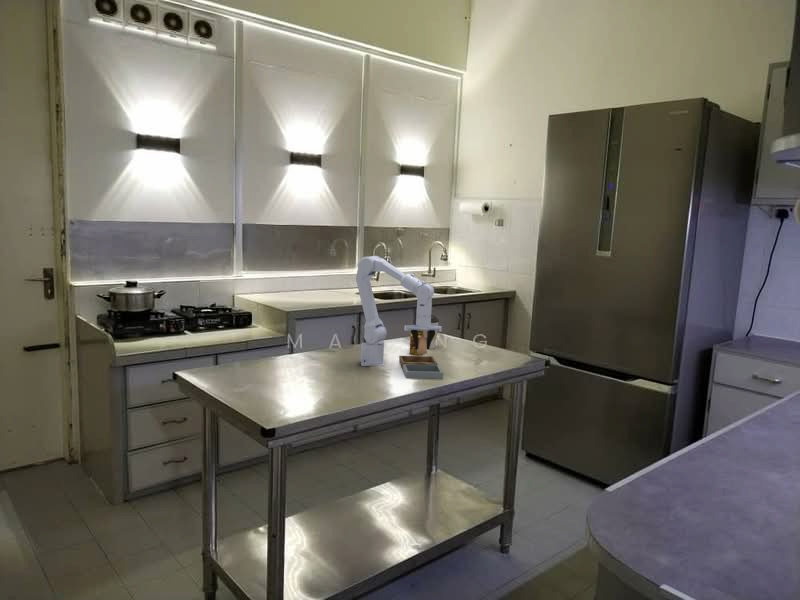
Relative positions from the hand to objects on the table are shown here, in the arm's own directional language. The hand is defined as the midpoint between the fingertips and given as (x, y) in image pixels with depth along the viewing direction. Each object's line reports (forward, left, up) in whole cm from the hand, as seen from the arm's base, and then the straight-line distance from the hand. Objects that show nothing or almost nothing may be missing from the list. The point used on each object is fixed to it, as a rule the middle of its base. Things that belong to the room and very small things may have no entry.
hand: (421, 348), depth 227 cm
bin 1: (0, +7, -9) cm, 11 cm away
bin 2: (0, -6, -9) cm, 11 cm away
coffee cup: (+9, +42, -9) cm, 43 cm away
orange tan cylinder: (0, 0, -2) cm, 2 cm away
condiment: (+2, +27, -9) cm, 28 cm away
